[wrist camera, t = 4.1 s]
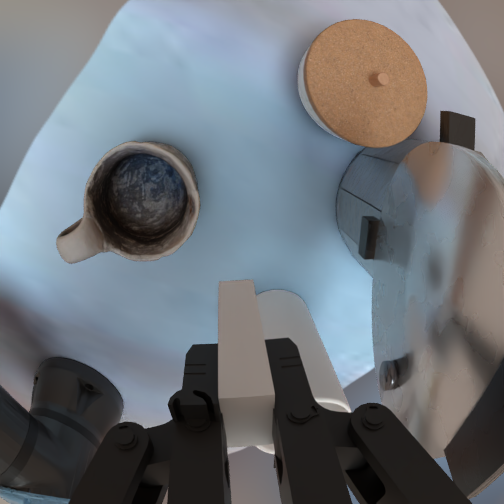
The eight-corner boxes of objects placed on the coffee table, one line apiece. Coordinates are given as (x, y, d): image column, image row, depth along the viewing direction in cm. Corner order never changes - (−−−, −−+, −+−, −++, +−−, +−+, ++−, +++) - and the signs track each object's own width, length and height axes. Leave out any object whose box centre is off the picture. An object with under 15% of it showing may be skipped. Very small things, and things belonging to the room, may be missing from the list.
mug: (224, 199, 30) (224, 233, 20) (129, 266, 31) (99, 319, 22) (167, 119, 26) (138, 114, 17) (75, 196, 28) (23, 227, 19)
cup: (312, 288, 34) (365, 393, 20) (303, 344, 38) (338, 448, 23) (240, 289, 34) (253, 405, 19) (238, 346, 37) (248, 458, 22)
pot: (318, 292, 35) (349, 351, 25) (325, 103, 27) (375, 95, 17) (430, 280, 36) (476, 323, 26) (450, 122, 28) (515, 131, 18)
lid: (372, 331, 23) (353, 332, 23) (398, 135, 17) (375, 133, 17) (427, 532, 8) (398, 540, 8) (646, 213, 1) (630, 203, 2)
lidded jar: (320, 160, 29) (360, 176, 20) (263, 67, 25) (281, 42, 16) (400, 115, 27) (457, 117, 19) (352, 27, 23) (397, -1, 15)
